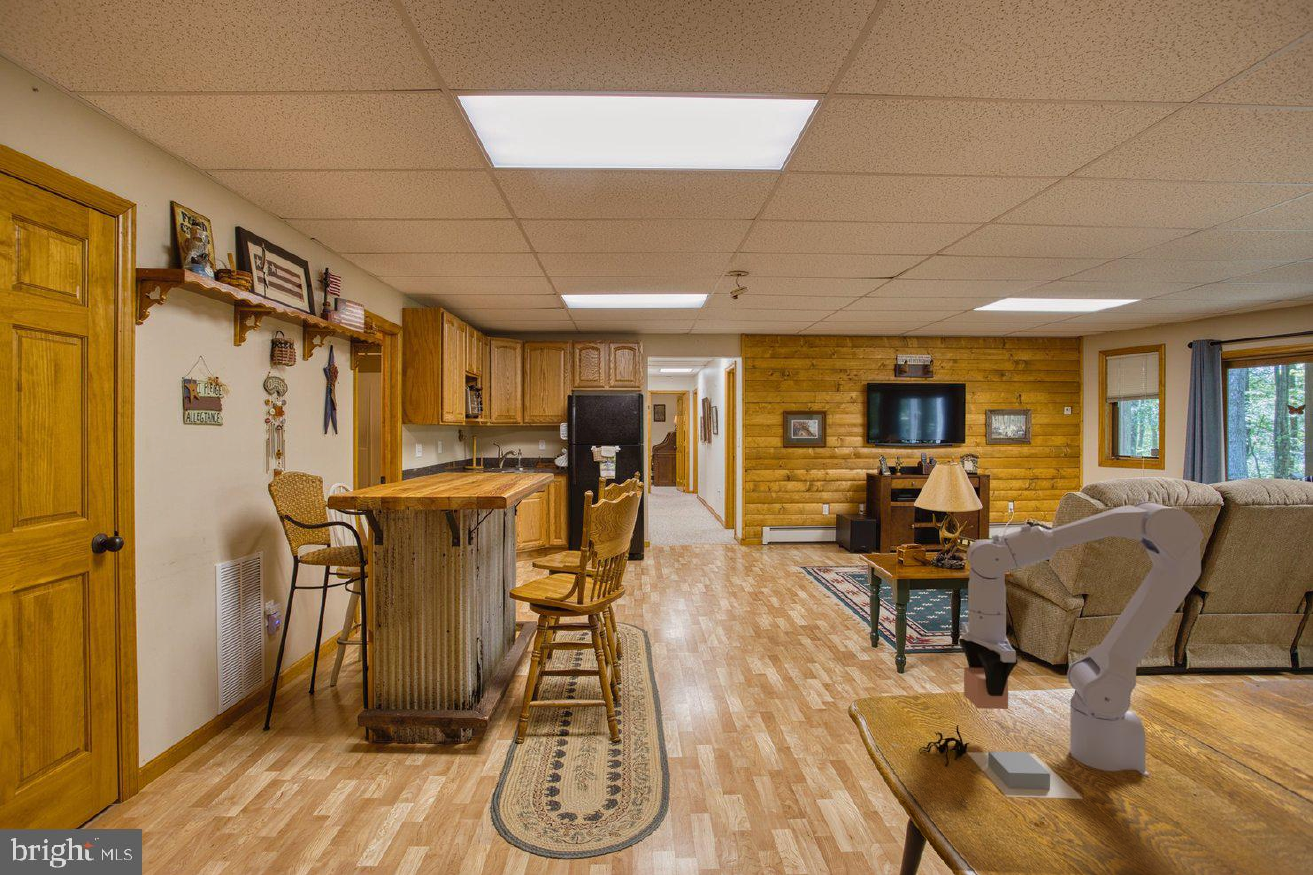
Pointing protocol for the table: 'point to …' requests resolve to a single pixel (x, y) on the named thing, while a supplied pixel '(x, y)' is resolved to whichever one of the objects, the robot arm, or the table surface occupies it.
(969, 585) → the robot arm
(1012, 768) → the base brick
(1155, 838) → the table surface
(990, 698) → the top brick
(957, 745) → the creature
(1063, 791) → the board
